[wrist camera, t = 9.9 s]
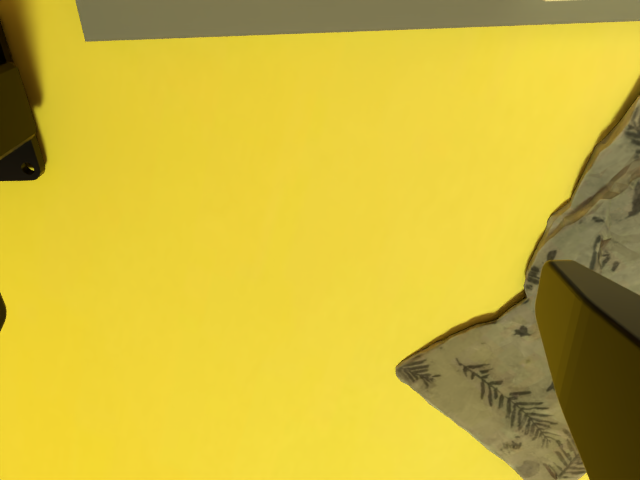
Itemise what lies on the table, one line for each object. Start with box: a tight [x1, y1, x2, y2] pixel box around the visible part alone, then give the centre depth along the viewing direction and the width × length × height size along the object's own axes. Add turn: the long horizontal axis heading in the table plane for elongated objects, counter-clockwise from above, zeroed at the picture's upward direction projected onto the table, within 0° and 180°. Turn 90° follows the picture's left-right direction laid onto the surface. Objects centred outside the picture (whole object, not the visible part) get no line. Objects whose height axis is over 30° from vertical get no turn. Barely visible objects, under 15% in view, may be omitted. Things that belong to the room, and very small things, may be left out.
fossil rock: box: [396, 95, 640, 480], centre depth 24 cm, size 18×15×2 cm
